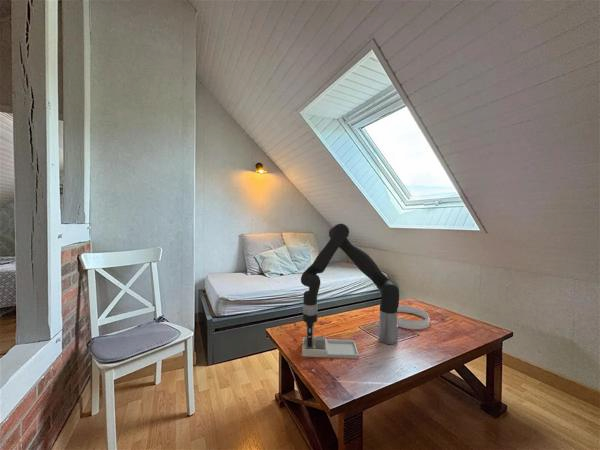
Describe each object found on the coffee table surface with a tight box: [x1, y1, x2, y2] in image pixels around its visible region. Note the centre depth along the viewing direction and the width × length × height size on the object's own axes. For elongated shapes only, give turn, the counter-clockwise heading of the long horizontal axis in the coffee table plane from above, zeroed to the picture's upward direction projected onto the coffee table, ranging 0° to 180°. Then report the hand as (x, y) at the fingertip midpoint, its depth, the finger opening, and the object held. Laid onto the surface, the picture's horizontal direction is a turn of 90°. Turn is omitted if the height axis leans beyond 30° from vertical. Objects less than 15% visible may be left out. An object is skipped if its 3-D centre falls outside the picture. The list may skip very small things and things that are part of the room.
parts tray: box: [326, 338, 360, 359], centre depth 130 cm, size 15×14×2 cm
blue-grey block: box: [315, 335, 324, 350], centre depth 130 cm, size 4×4×6 cm
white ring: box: [397, 304, 431, 330], centre depth 168 cm, size 27×27×6 cm
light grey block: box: [305, 335, 315, 349], centre depth 130 cm, size 4×4×6 cm
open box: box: [301, 336, 328, 358], centre depth 130 cm, size 12×12×4 cm
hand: (309, 342), depth 130 cm, fingers open, 8 cm apart
